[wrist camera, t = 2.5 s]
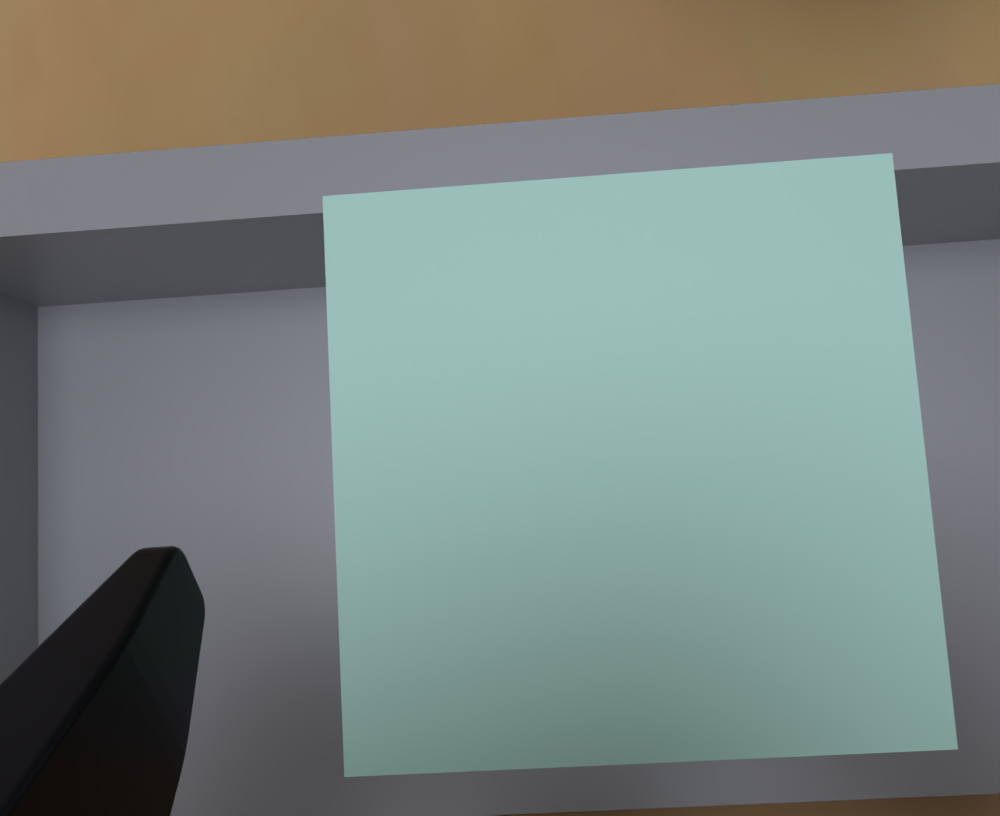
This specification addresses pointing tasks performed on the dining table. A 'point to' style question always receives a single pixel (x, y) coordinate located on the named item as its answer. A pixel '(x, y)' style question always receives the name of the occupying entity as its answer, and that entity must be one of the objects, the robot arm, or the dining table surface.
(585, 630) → the green block
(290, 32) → the dining table surface
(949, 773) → the open crate
